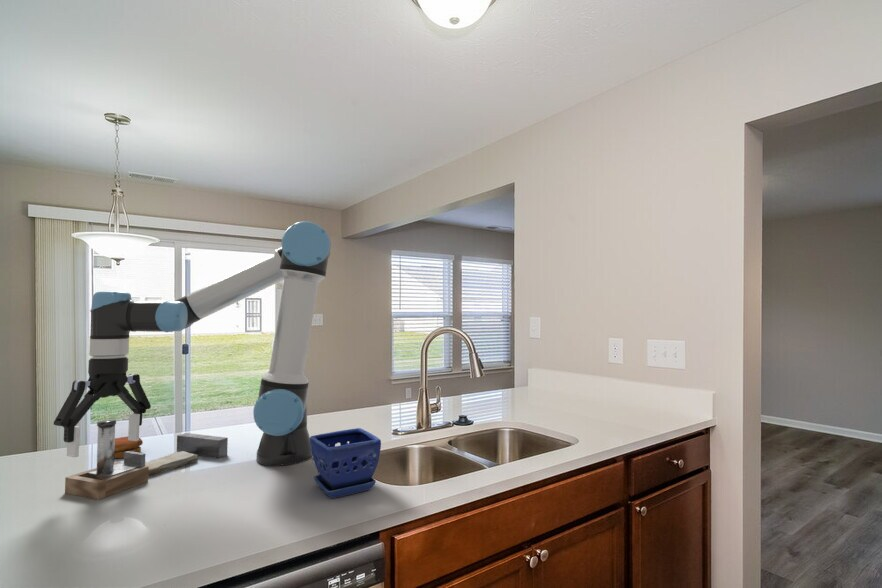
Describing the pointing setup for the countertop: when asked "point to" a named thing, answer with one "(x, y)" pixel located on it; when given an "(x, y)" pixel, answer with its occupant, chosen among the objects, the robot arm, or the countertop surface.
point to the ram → (112, 454)
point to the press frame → (104, 483)
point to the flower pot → (345, 461)
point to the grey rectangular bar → (202, 445)
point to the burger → (126, 446)
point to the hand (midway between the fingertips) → (104, 447)
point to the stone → (170, 462)
